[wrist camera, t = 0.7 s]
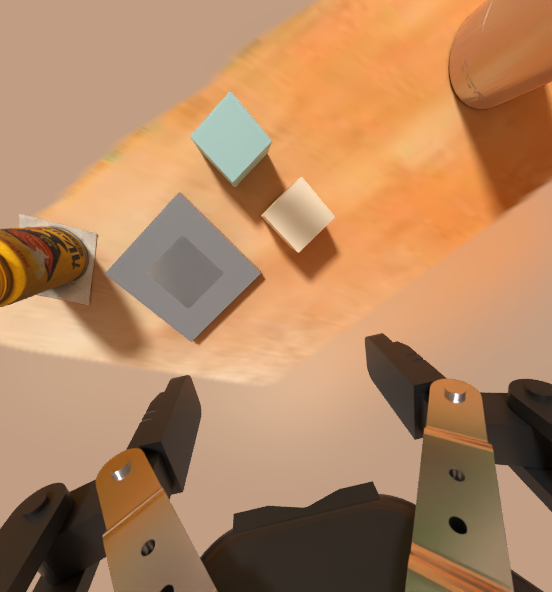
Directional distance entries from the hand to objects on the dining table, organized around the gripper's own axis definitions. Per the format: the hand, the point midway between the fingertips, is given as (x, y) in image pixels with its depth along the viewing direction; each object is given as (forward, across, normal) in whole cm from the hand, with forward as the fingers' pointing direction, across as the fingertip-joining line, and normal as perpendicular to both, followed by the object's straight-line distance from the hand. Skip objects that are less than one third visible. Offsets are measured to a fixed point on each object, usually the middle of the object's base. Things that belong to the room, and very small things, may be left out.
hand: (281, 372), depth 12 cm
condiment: (+21, +22, -6) cm, 31 cm away
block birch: (+21, -5, -6) cm, 22 cm away
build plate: (+21, +8, -2) cm, 22 cm away
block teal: (+21, 0, -13) cm, 25 cm away
